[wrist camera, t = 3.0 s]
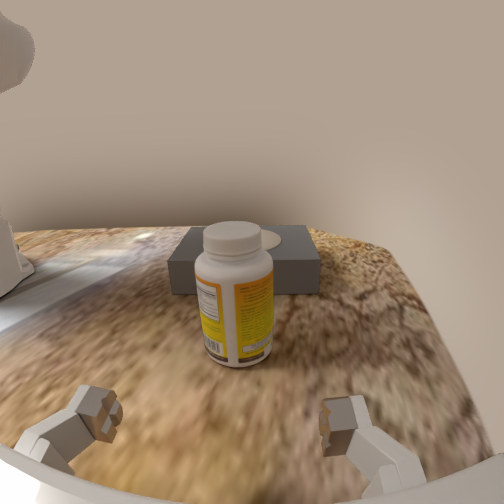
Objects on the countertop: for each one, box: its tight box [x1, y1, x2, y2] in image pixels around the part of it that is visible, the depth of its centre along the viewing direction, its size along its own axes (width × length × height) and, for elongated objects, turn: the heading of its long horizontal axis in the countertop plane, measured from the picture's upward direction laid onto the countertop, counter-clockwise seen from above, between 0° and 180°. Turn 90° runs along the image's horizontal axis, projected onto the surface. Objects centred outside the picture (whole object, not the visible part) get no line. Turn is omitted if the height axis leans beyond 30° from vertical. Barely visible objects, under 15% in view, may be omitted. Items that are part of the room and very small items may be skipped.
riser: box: [168, 225, 321, 295], centre depth 38 cm, size 16×12×4 cm
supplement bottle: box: [195, 221, 273, 367], centre depth 23 cm, size 6×6×10 cm
